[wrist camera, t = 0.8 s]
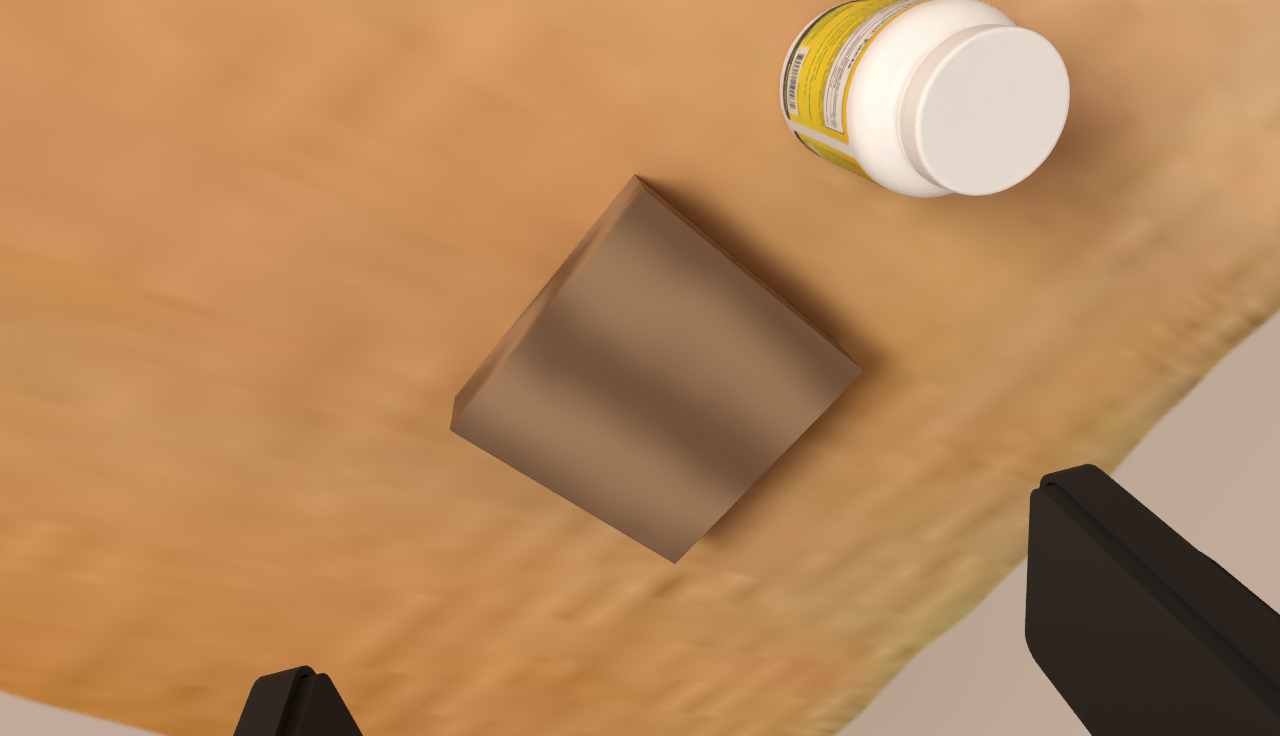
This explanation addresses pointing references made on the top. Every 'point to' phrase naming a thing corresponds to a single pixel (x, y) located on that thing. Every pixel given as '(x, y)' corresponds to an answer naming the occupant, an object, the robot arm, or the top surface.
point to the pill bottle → (925, 95)
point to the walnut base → (652, 378)
